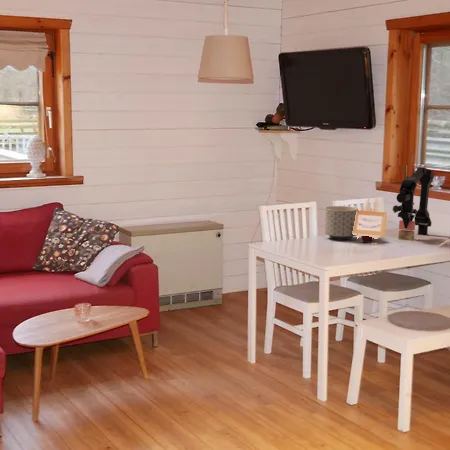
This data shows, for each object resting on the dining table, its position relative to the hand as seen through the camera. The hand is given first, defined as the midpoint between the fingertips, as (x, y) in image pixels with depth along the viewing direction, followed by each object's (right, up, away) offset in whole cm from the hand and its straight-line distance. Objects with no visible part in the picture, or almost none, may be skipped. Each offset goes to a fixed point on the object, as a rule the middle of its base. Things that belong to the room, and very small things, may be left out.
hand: (406, 227), depth 438 cm
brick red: (0, -1, 0) cm, 1 cm away
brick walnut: (0, -7, +1) cm, 7 cm away
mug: (-23, -9, -4) cm, 25 cm away
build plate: (0, -8, +1) cm, 8 cm away
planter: (-37, -7, +7) cm, 39 cm away
